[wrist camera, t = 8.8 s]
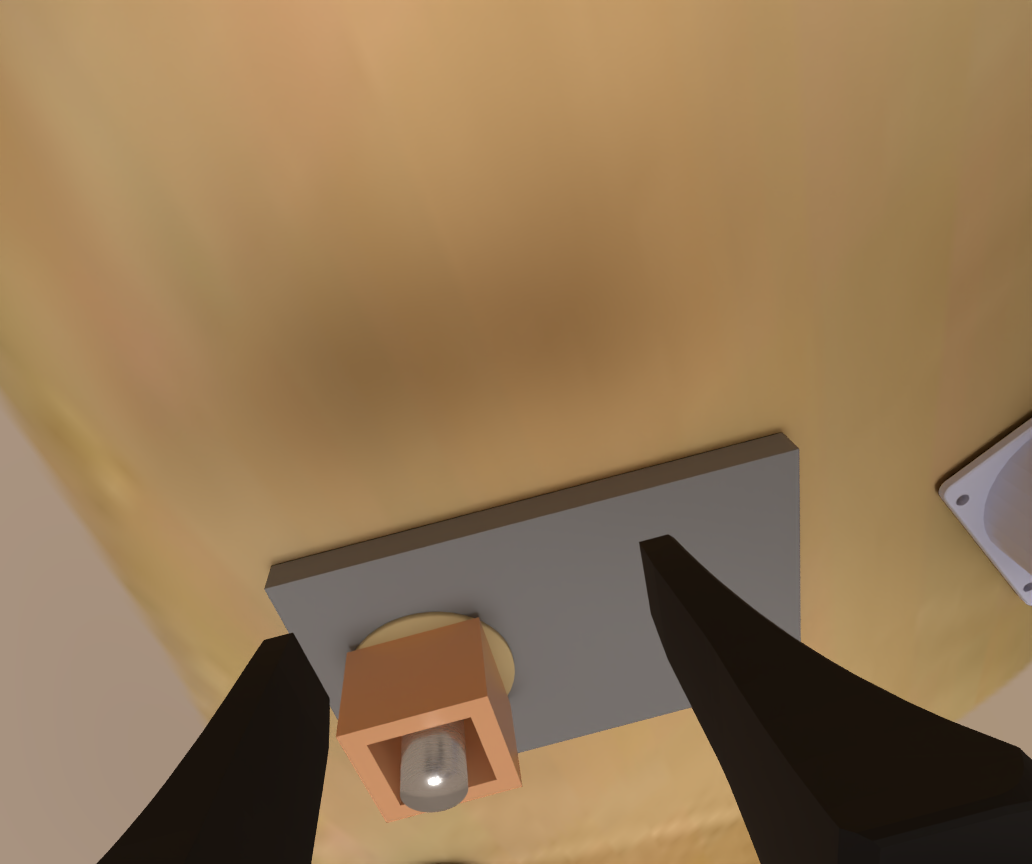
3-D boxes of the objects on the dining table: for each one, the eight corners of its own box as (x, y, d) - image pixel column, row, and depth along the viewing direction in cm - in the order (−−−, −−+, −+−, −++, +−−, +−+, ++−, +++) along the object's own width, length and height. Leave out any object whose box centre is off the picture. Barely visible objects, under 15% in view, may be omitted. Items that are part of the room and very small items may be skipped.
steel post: (470, 646, 27) (482, 785, 21) (433, 677, 27) (436, 819, 22) (429, 621, 26) (431, 760, 20) (392, 653, 26) (385, 797, 21)
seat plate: (782, 432, 23) (803, 453, 22) (787, 657, 29) (804, 684, 28) (271, 566, 23) (262, 595, 22) (378, 764, 29) (376, 796, 28)
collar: (478, 617, 24) (487, 696, 21) (510, 704, 26) (522, 786, 23) (346, 652, 24) (335, 736, 21) (390, 736, 26) (386, 822, 23)
